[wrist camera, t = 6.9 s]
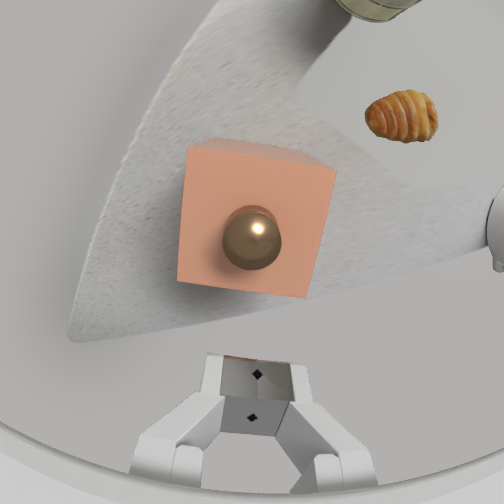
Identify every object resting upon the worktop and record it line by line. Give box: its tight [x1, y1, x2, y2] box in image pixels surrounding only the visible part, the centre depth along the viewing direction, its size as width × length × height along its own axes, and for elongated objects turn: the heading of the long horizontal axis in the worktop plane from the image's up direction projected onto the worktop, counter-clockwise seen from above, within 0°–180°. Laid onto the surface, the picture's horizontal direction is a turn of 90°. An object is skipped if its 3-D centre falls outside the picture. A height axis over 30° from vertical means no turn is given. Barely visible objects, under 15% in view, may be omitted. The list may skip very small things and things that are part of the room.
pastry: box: [365, 90, 438, 143], centre depth 31 cm, size 9×7×4 cm
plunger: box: [222, 205, 282, 270], centre depth 25 cm, size 8×8×13 cm
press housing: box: [177, 138, 337, 298], centre depth 29 cm, size 10×10×16 cm
